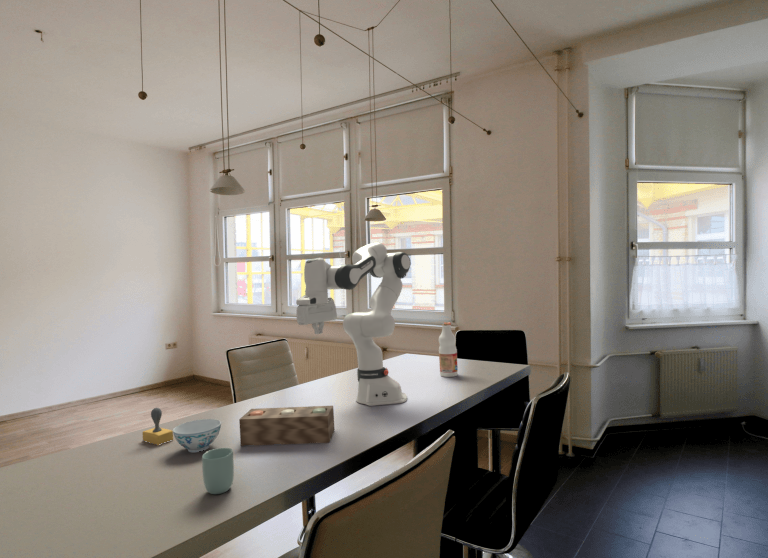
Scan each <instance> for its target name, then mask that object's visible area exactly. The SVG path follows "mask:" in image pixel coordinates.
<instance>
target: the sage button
mask: <svg viewBox="0 0 768 558" xmlns="http://www.w3.org/2000/svg"><path fill="white" fill-rule="evenodd" d="M325 412H326V410H325V408H316V409H314V410H313V413H325Z"/></svg>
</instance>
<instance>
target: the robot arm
mask: <svg viewBox="0 0 768 558" xmlns="http://www.w3.org/2000/svg"><path fill="white" fill-rule="evenodd" d="M351 260H352V264H351V263H349V264H344V265H342V264H340V265H331V264H330V263H328V262H327V261H326V259H325V258H322V257H315V258H310V259H308V260H306V261H305V263H304V270H303V271H304V273H303V277H304V284H305V291H304V292H305V293H304V295H303V296H301V297H300V298H297V299H296V300H295V302H296V304H295V305H296V322H297V324H298V325H299V326H306V325H307V326H308V325H311V326H312V328H313V330H314V332H313V333H314V335H319V334H320V335H321V334H323V331H324V327H325V322H330V321H335V320H336V319H337V318H338V314H337V307H336V304H335V303H336V302H335V300H334V299H333V298H332V297H329V292H328V291H329V290H348V291H351V290H354V289H355V288H356V287H357V286H358V284H359V282H361V280H362V279H363V278H364V277H365V276H367V275H368V274H370V275H371V277H373V278H376V279H377V278H378V279H380V278H382V279H381V282H380V283H379V285H378V286H377V288H376V289H375V290H374V292H373V294H372V295H371V297H370V298H369V308H370V309H371V310H370V311H355V312H352V313H348V314H346V315H345V317H344V318H343V320H342V327H343V331H344V333H345V334H347V335H348V336H349V337H350V339H351V341H352V342H353V345H354V347H355V349H356V350H355V351H356V355H357V369H356V373H357V374H356V376H357V377H356V378H357V382H358V385H357V386H358V387H357V396H356V400H355V402H357V403H359V404H361V405H366V406H369V407H371V406H373V407H374V406H381V405H382V406H384V405H393V404H402V403H403V404H404V403H405V402H407V400H408V395H407V393H404V392H403V391H402V386H401V385H400V383H399V382H398V381H396V380H395V379H393V378H392V377H391V376H390V375H389V373H390V372H389V369H388V368H387V367H385V366H384V361H383V359H384V357H383V350H382V348H381V347H380V346H379V345H378V344H377V343H376V342H375V341H374V338H384V337H389V336H391V335H393V333H394V331H395V327H396V321H395V319H394V317H393V315H392V314H391V312H392V310H393V308H394V307H395V304H396V303H397V301H398V299H399V297H400V295H401V293H402V290H403V281H402V279H404V278H405V277H406V276H407V274H408V272H409V271H410V268H411V264H412V263H411V258H410V257H409V254H408V253H406V252H403V251H396V252H388V249H387V248H386V246H385V244H384V243H381V242H378V241H375V242H371V243H368V244H365V245H364V246H361V247H359V248H358V249H356V250H355V251H354V252H353V253H352V257H351Z"/></svg>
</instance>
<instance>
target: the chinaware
mask: <svg viewBox="0 0 768 558" xmlns="http://www.w3.org/2000/svg"><path fill="white" fill-rule="evenodd" d="M221 427H222V421H221V420H220V419H217V418H202V419H199V418H198V419H194V420H190V421H186V422H183V423H180V424H179V425H176V426H175V427H173V429H172V431H173V437H174V438H175V440H176V442H177V443H178V444H179V445H180V446H181V447H183V448H185V449H187V451H188V452H189V453H200V452H199V451H201V452H204V451H206V450H208V449H209V448H210V445H211V444H212V443H213V442H214V441H215V440H216V439H217V437H218V435H219V433H220V431H221ZM203 450H204V451H203Z"/></svg>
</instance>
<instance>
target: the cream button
mask: <svg viewBox="0 0 768 558" xmlns="http://www.w3.org/2000/svg"><path fill="white" fill-rule="evenodd" d="M284 414H294V410H293V409H287V410H283V411H281V415H284Z"/></svg>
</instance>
